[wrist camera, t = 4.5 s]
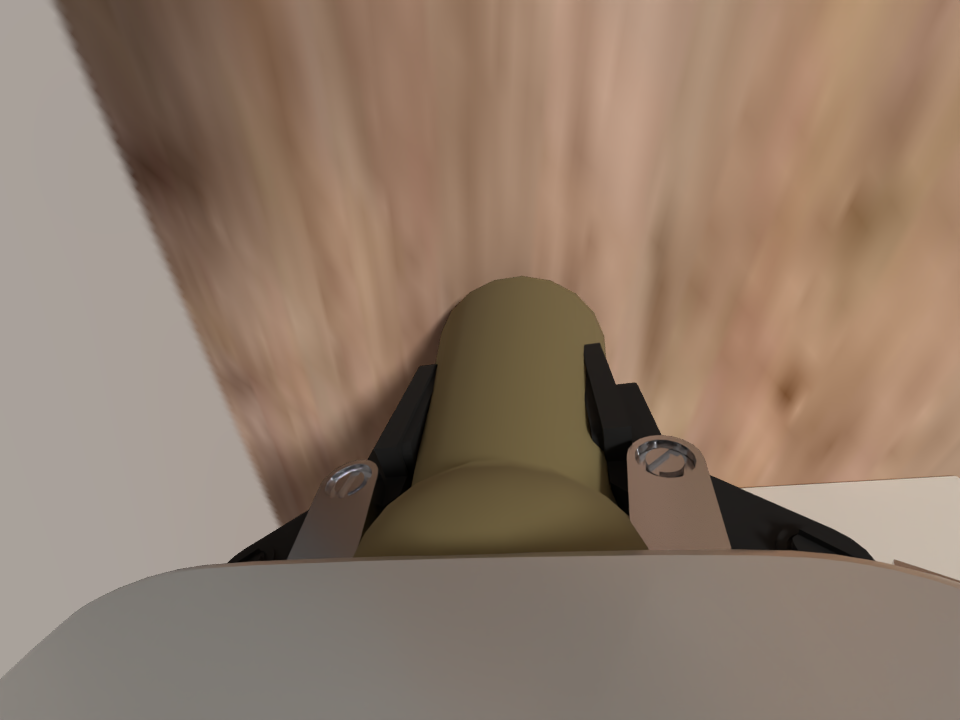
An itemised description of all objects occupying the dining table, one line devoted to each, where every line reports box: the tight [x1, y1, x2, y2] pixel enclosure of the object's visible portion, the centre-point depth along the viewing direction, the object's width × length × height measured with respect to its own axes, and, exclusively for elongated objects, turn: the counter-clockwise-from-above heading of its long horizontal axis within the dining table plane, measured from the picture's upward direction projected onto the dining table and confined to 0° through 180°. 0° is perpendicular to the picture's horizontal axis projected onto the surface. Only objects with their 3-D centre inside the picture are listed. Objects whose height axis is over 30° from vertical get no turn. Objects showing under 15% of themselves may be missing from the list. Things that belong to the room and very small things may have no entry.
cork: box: [353, 276, 649, 558], centre depth 9 cm, size 6×6×11 cm
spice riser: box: [741, 476, 960, 581], centre depth 16 cm, size 14×19×7 cm
